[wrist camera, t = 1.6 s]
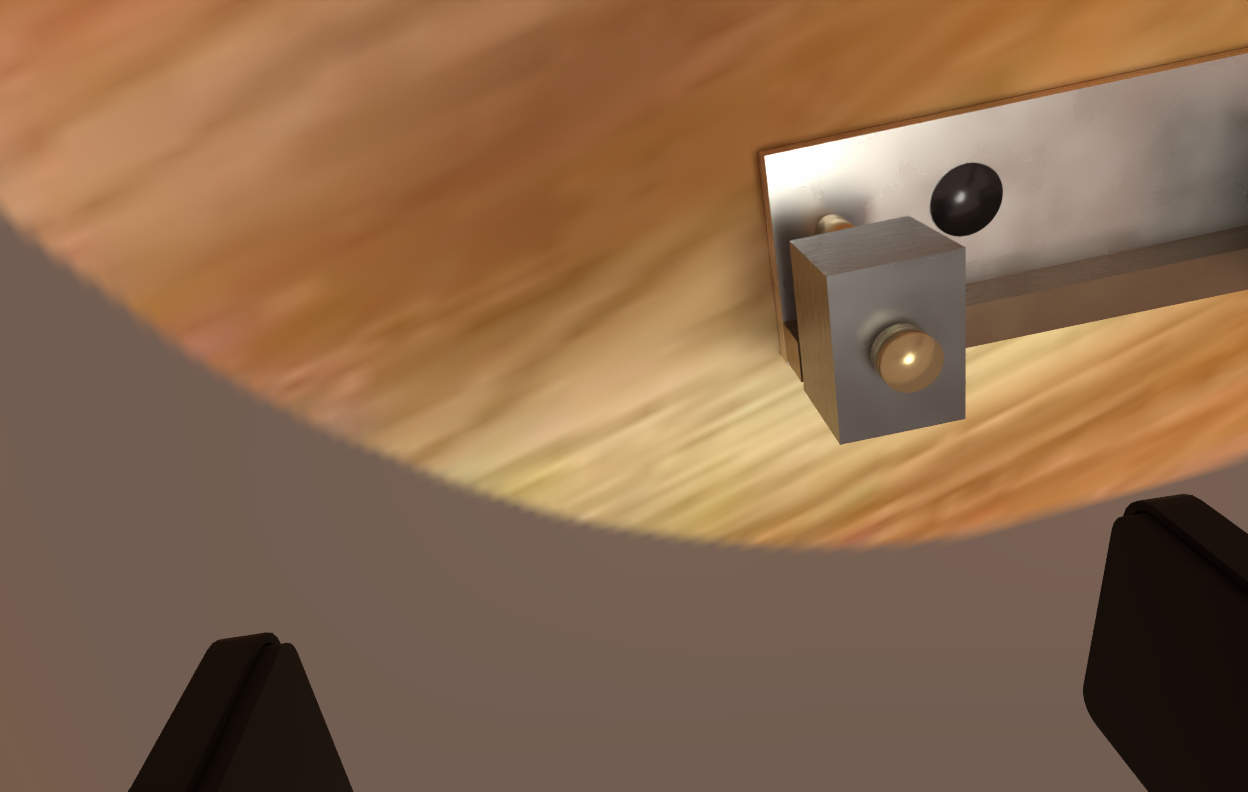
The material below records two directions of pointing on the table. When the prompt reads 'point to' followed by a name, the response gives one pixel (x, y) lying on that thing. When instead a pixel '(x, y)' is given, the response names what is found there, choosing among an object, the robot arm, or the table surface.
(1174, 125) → the bolt plate
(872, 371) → the grey block with knob
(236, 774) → the robot arm
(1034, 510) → the table surface
